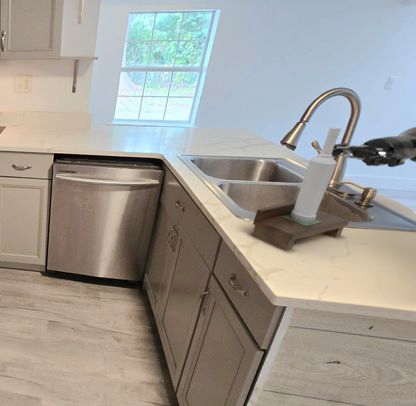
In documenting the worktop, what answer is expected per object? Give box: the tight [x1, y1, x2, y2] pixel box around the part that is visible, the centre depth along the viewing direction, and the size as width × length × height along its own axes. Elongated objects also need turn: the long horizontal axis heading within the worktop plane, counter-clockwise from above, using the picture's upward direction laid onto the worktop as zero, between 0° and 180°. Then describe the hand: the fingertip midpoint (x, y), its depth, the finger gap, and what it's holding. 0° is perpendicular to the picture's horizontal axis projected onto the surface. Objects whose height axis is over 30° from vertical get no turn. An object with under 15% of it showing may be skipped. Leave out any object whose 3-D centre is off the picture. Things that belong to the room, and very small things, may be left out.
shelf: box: [251, 200, 350, 251], centre depth 100 cm, size 10×22×8 cm, turn 109°
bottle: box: [291, 126, 342, 223], centre depth 95 cm, size 5×5×25 cm
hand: (348, 157), depth 96 cm, fingers open, 8 cm apart
